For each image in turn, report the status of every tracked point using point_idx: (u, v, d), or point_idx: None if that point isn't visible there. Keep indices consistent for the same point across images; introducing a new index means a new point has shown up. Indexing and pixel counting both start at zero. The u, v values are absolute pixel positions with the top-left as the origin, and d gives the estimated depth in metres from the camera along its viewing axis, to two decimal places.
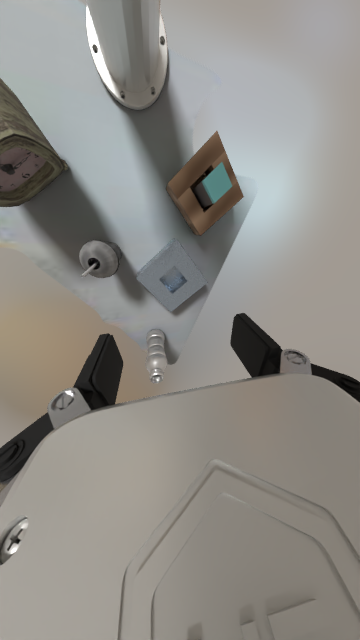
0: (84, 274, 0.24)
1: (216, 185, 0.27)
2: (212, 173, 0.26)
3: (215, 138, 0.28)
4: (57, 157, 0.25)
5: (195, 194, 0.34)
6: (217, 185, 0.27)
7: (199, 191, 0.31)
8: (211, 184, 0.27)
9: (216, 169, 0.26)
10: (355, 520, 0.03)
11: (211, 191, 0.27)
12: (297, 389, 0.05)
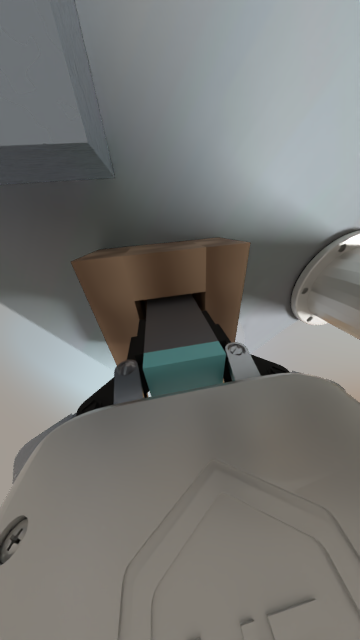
0: None
1: (186, 382, 0.08)
2: (218, 379, 0.08)
3: None
4: None
5: None
6: (183, 383, 0.08)
7: (187, 312, 0.11)
8: (198, 372, 0.08)
9: None
10: (355, 520, 0.03)
11: (181, 368, 0.07)
12: (297, 389, 0.05)
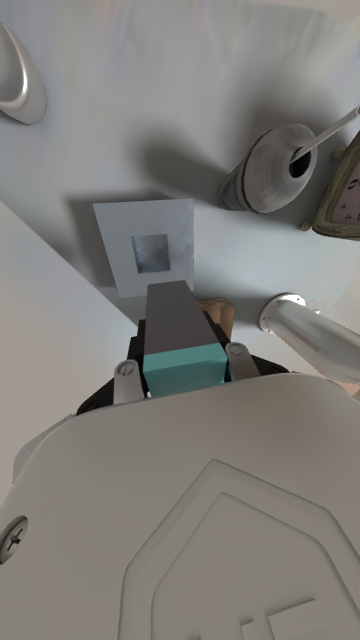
0: (351, 120, 0.10)
1: (186, 384, 0.08)
2: (219, 380, 0.08)
3: None
4: (328, 235, 0.25)
5: (180, 292, 0.14)
6: (184, 385, 0.08)
7: (187, 311, 0.11)
8: (199, 374, 0.08)
9: None
10: (355, 520, 0.03)
11: (182, 370, 0.07)
12: (297, 389, 0.05)
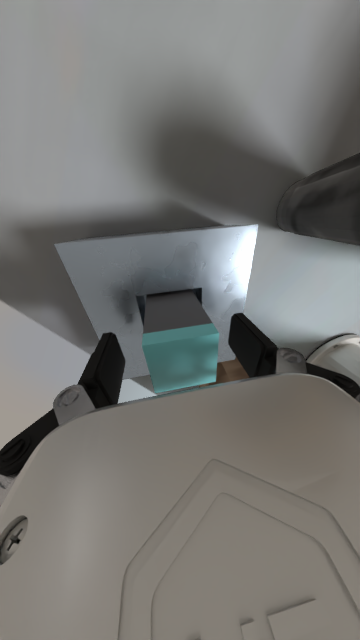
0: None
1: (182, 361, 0.08)
2: (213, 359, 0.09)
3: None
4: None
5: None
6: (180, 362, 0.08)
7: (184, 300, 0.12)
8: (193, 351, 0.08)
9: (212, 369, 0.09)
10: (355, 520, 0.03)
11: (178, 346, 0.08)
12: (297, 389, 0.05)
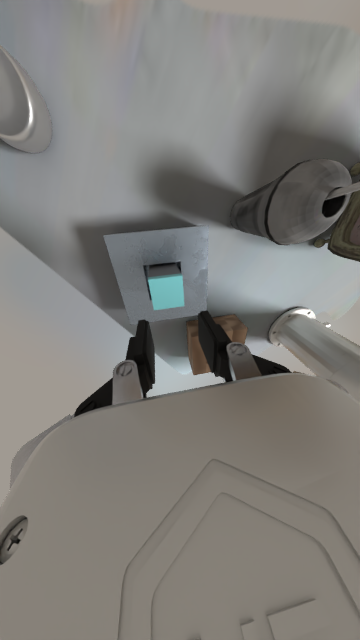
0: None
1: (166, 290, 0.18)
2: (181, 290, 0.18)
3: None
4: (347, 256, 0.24)
5: None
6: (165, 291, 0.18)
7: (170, 267, 0.21)
8: (171, 284, 0.18)
9: (181, 297, 0.19)
10: (355, 520, 0.03)
11: (164, 281, 0.18)
12: (297, 389, 0.05)
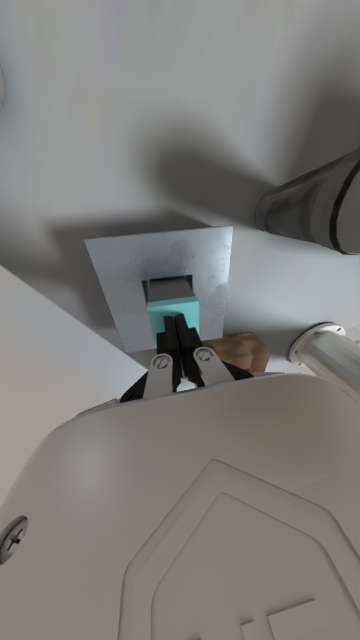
0: None
1: (174, 322, 0.12)
2: (196, 321, 0.13)
3: None
4: None
5: None
6: None
7: (178, 284, 0.15)
8: None
9: (196, 329, 0.13)
10: (355, 520, 0.03)
11: (171, 309, 0.12)
12: (297, 389, 0.05)
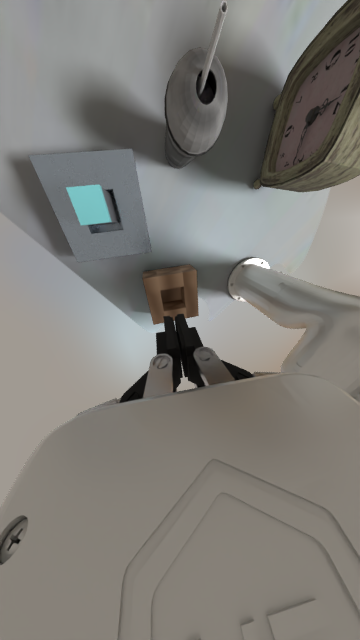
0: (221, 21, 0.11)
1: (87, 202, 0.20)
2: (102, 203, 0.20)
3: (195, 313, 0.40)
4: (271, 185, 0.26)
5: None
6: (87, 202, 0.20)
7: None
8: (91, 195, 0.19)
9: (105, 210, 0.20)
10: (355, 520, 0.03)
11: (82, 190, 0.19)
12: (297, 389, 0.05)
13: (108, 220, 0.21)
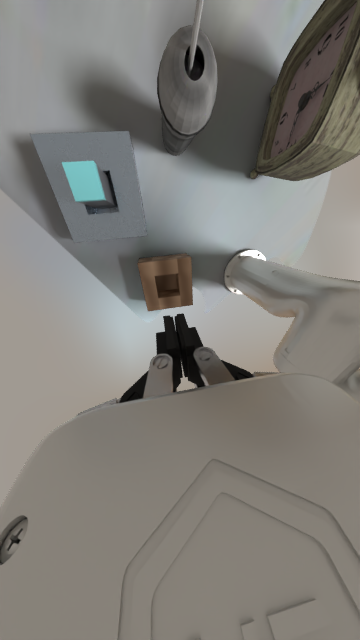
0: None
1: (82, 178, 0.20)
2: (96, 179, 0.21)
3: (190, 302, 0.40)
4: (265, 171, 0.26)
5: None
6: (81, 178, 0.21)
7: None
8: (85, 171, 0.20)
9: (98, 187, 0.21)
10: (355, 520, 0.03)
11: (77, 166, 0.20)
12: (297, 389, 0.05)
13: (102, 197, 0.22)
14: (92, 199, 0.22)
